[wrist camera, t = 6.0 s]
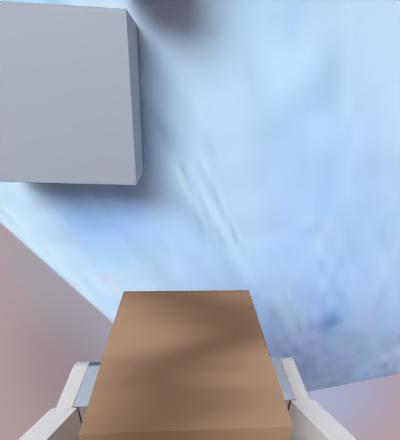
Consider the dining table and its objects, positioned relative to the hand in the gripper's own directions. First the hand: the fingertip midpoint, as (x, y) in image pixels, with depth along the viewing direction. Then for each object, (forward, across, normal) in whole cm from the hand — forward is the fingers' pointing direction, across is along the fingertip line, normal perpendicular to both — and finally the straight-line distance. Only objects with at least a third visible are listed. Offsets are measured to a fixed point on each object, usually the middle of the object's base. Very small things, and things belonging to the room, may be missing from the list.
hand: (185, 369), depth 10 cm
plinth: (+17, +9, -9) cm, 21 cm away
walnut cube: (+2, 0, 0) cm, 2 cm away
